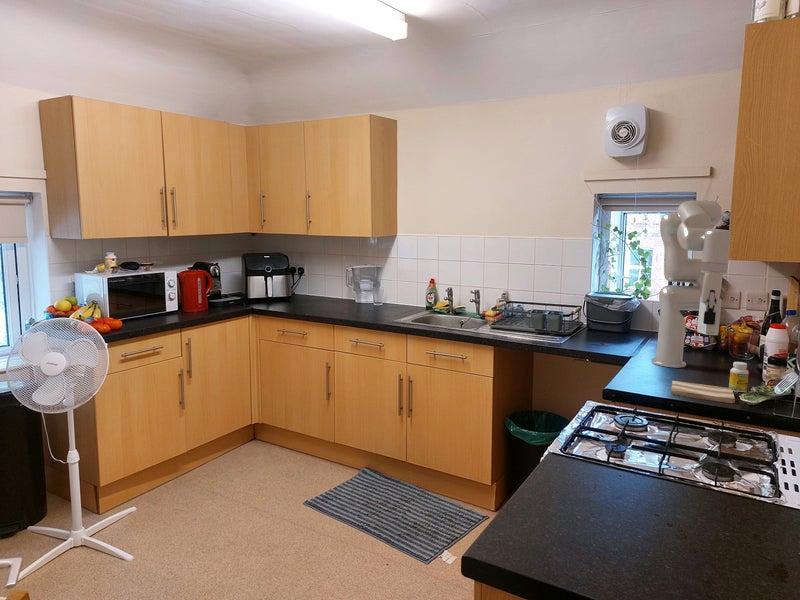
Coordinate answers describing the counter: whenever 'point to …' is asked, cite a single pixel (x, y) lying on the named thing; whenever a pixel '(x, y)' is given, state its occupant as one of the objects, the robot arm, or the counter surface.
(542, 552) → the counter surface
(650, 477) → the counter surface
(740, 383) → the supplement bottle
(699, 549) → the counter surface
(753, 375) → the counter surface
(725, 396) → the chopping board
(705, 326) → the skincare box
